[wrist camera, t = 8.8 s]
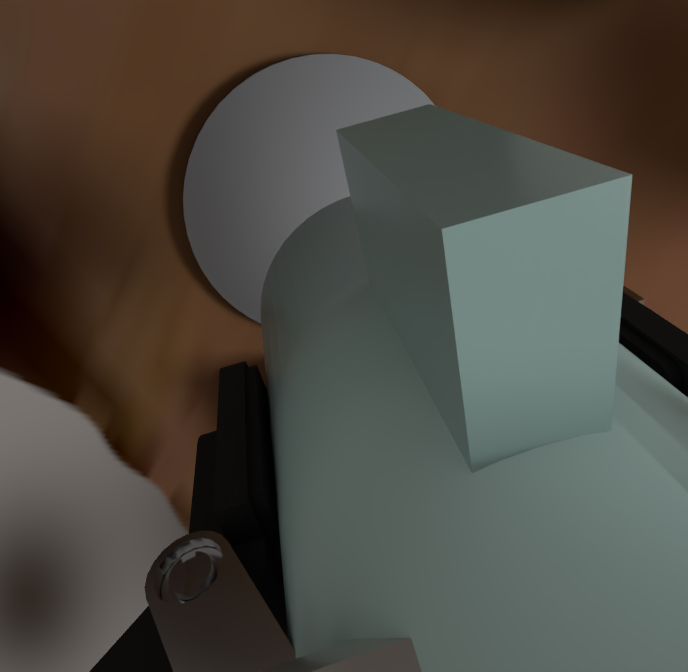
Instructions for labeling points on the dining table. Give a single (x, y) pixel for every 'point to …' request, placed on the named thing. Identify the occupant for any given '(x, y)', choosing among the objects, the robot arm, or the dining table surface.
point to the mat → (277, 162)
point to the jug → (473, 412)
